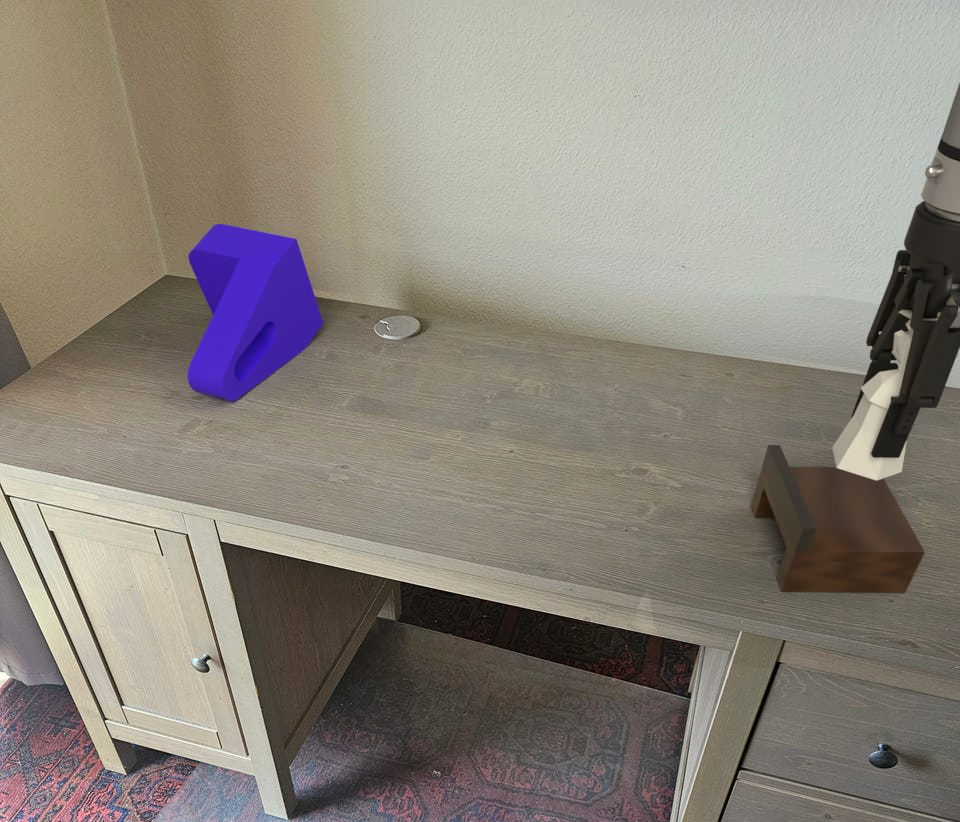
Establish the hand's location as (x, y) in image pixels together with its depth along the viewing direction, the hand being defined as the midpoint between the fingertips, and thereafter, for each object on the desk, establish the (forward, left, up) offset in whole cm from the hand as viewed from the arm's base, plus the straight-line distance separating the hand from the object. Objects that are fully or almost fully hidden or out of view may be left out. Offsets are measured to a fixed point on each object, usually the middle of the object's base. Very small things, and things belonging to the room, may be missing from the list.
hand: (874, 436), depth 92 cm
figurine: (0, 0, -3) cm, 3 cm away
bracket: (+80, -46, -17) cm, 94 cm away
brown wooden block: (+1, 0, -15) cm, 15 cm away
